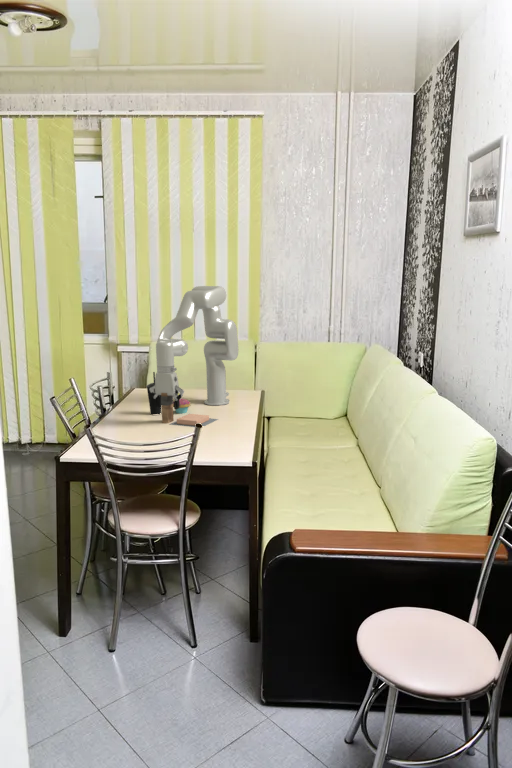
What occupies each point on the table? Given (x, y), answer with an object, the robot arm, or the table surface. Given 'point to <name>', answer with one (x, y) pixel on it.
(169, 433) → the table surface
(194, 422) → the tile
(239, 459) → the table surface
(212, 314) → the robot arm
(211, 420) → the mat
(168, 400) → the banded brown box
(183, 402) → the cupcake
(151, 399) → the drinking cup
